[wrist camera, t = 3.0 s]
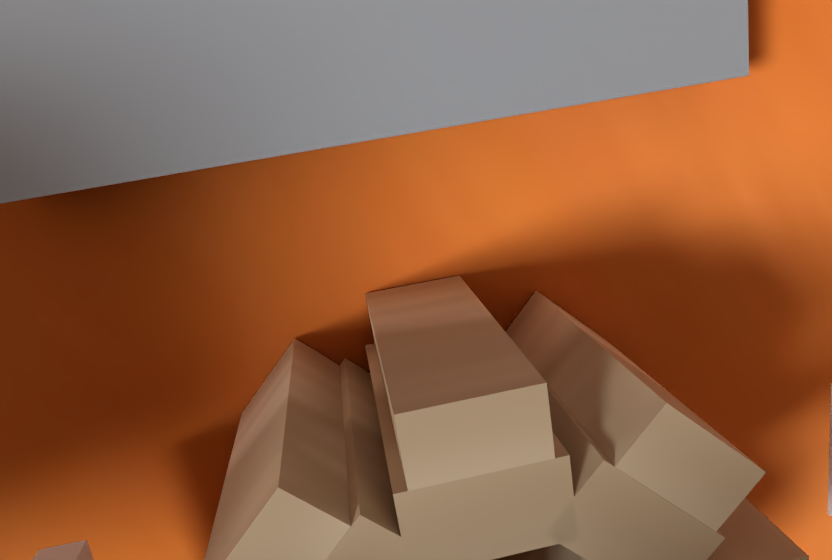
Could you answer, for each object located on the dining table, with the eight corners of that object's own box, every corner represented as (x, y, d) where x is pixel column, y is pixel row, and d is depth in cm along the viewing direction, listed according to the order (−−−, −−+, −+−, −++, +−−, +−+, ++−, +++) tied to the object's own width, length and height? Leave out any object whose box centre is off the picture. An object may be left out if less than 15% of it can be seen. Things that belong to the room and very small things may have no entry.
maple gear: (283, 689, 14) (265, 985, 9) (185, 328, 12) (95, 477, 7) (651, 598, 15) (805, 830, 10) (625, 243, 13) (810, 326, 8)
